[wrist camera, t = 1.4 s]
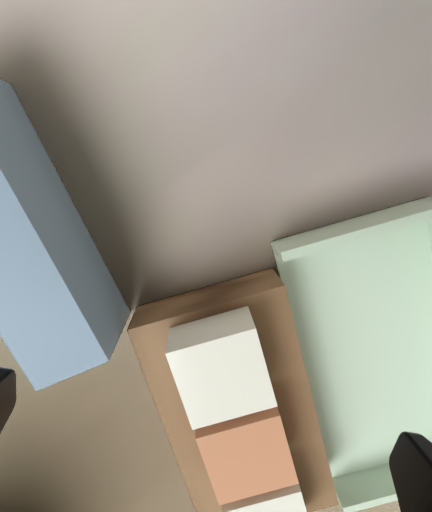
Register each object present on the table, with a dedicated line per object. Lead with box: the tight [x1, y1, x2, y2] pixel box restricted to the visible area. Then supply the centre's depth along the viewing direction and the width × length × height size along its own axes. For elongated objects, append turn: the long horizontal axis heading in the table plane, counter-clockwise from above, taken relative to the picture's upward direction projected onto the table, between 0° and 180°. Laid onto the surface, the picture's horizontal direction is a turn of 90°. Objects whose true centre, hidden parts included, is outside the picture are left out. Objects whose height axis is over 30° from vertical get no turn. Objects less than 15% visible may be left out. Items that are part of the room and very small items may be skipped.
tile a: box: [221, 484, 307, 512], centre depth 19 cm, size 4×4×2 cm
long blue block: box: [0, 79, 130, 391], centre depth 17 cm, size 4×13×6 cm, turn 23°
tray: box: [271, 197, 432, 512], centre depth 20 cm, size 9×17×4 cm, turn 16°
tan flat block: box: [127, 268, 339, 512], centre depth 21 cm, size 8×14×3 cm, turn 16°
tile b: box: [195, 407, 299, 505], centre depth 18 cm, size 4×4×2 cm
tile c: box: [165, 306, 277, 430], centre depth 17 cm, size 4×4×2 cm
